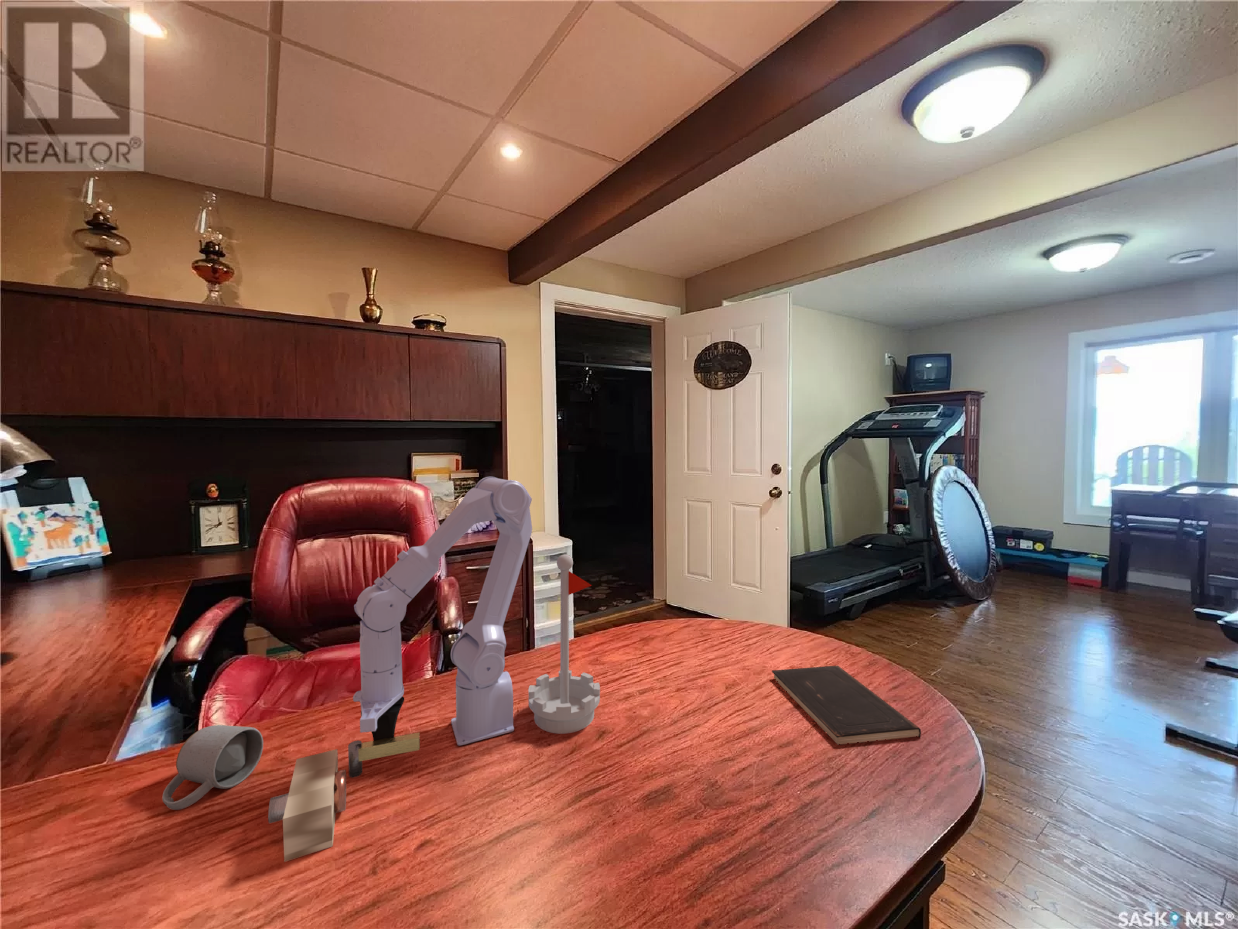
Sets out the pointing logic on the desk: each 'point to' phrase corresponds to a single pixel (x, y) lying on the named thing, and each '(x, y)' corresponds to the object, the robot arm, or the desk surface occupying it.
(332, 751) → the hitch block
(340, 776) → the pin
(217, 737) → the ceramic mug
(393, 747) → the bar
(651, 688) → the desk surface
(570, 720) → the flag stand
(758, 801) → the desk surface
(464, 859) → the desk surface
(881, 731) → the hardcover book
